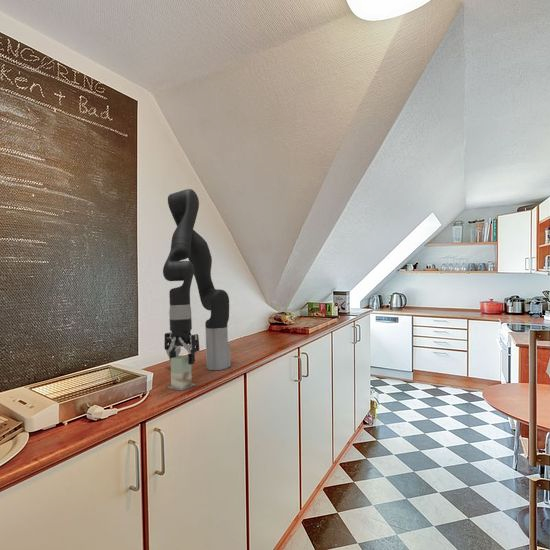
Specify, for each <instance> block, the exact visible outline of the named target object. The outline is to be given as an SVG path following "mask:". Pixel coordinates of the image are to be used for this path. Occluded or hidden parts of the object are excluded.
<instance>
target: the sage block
mask: <svg viewBox="0 0 550 550" xmlns="http://www.w3.org/2000/svg"><path fill="white" fill-rule="evenodd" d="M189 371H191V372H192V364H191V365H189V364H188V355H182V354H181V355H180V354H179V356H177V357H173V358H171V362H170V374H171V373H178V374H183V373H186V372H189Z"/></svg>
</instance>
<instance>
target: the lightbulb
mask: <svg viewBox="0 0 550 550" xmlns="http://www.w3.org/2000/svg"><path fill="white" fill-rule="evenodd" d="M181 350H182V348H181V346H177V348H176V350H175V351H176V357H177V356H180V353H181ZM165 353H166V355H167V356H168V358H169V359H170V357H169V351H168V350H165Z"/></svg>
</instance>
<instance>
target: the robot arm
mask: <svg viewBox="0 0 550 550" xmlns="http://www.w3.org/2000/svg"><path fill="white" fill-rule="evenodd" d="M167 205H168V208H169V211H170V213H171V216H172V218H173V220H174V223H175V225H176V228H175V229H174V232H172V238H171V243H170V250H169V254H168V256H167V258H166V260H165V263H164V266H163V269H162V274H163V278H164V280H166V281H168V282H182V284H181V285H180V286H178V287H174V288H171V289H170V290H169V293H168V295H169V309H168V311H169V313H168V315H169V331H170V332H166V333H164V345H163V346H164V347H163V348H164V350H165V351H166V350H168V351H169V356H168V358H169V357H170V358H169V363H171V358H173V357H176V351H175V350H176V348H177V346H180V347H182V348H184V349H185V350H186V351H187V353H188V354H187V356H188V364H189V365H191V366H192V365H194V364H195V361H196V356H195V355H196V352H200V341H199V340H200V337H199V334H198V333H196V334H191V333H192V332H191V331H192V328H193V327H192V326H193V321H192V308H191V286H192V281H193V278H194V279H195V283H196V285H197V289H198V295H199V299H200V302H201V306H202V307H203V308H204V309H205V310H206V311H210V317H209V318H208V319H206V320H205V323H204V324H205V325H204V326H205V354H206V356H205V358H206V369H207V370H210V371H221V370H226V369H228V368H230V366H231V345H230V344H229V339H228V338H229V337H228V336H229V335H228V334H229V333H228V322H229V320H230V297H229V294H228V292H227V291H226V290H224V289H216V288H215V286H214V285H215V284H214V282H213V280H212V267H213V266H212V265H213V264H212V263H213V259H212V257H213V256H212V254H211V251H210V247H209V245H208V243H207V241H206V239H204V238H203V236H201V235H200V234H199V233H198V232H197V231H196V230H195V229H194V228H195V223H196V220H197V216H198V213H199V212H198V211H199V207H200V200H199V197H198V195H197V193H196V191H195V190H194V189H192V188H188V189H187V188H186V189H183V190H179V191H176V192H173V193H170V194H169V195H168V196H167ZM186 259H188V260H186ZM231 367H232V366H231Z"/></svg>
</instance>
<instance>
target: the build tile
mask: <svg viewBox="0 0 550 550" xmlns="http://www.w3.org/2000/svg"><path fill="white" fill-rule="evenodd" d="M192 386H193V387H195V386H197V383H193V382H192V385H189V386H187V387H184V388H182V389H181V388H176V387H171V385H168V386H167V387H166V389H167V390H173V389H175V390H174V391H179V390H181V391H180V392H183V390H184V391H186V390H188V389H191V388H193V387H192ZM190 387H191V388H190ZM187 388H188V389H187ZM185 389H186V390H185Z"/></svg>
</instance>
